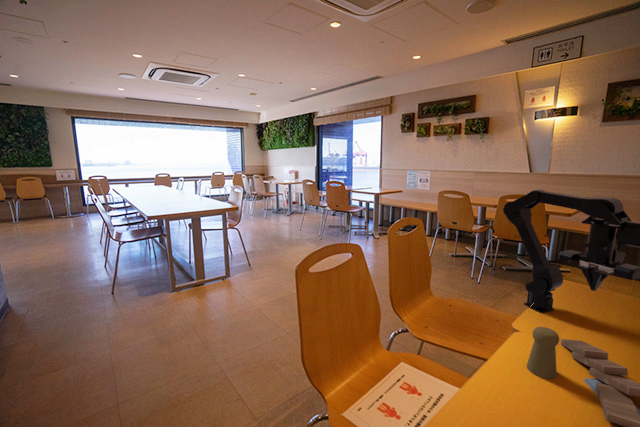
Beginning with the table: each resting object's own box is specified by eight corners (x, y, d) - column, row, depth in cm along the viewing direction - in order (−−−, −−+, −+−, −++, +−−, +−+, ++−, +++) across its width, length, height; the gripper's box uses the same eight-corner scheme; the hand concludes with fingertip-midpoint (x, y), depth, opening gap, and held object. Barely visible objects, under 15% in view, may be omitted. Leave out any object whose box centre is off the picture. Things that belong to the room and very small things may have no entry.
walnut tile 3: (589, 367, 72) (629, 387, 63) (612, 371, 72) (655, 391, 62) (589, 374, 72) (628, 395, 62) (611, 378, 72) (654, 399, 62)
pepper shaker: (551, 365, 77) (556, 325, 75) (560, 381, 71) (567, 339, 69) (523, 360, 79) (527, 321, 77) (530, 376, 73) (536, 334, 71)
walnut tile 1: (560, 338, 85) (584, 350, 75) (581, 340, 84) (607, 352, 74) (561, 344, 85) (584, 357, 75) (581, 346, 84) (608, 359, 74)
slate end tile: (584, 378, 71) (618, 412, 61) (609, 380, 70) (646, 416, 60) (583, 384, 71) (616, 419, 62) (607, 386, 70) (645, 422, 61)
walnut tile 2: (572, 351, 79) (603, 366, 69) (592, 353, 79) (627, 368, 69) (572, 357, 79) (603, 373, 69) (593, 359, 79) (627, 375, 69)
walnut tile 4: (596, 382, 68) (607, 413, 59) (627, 390, 65) (643, 424, 57) (595, 388, 68) (606, 420, 60) (626, 397, 65) (642, 432, 57)
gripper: (661, 246, 83) (650, 299, 85) (583, 231, 100) (577, 275, 103) (635, 250, 79) (626, 305, 82) (560, 234, 97) (554, 280, 99)
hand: (593, 290), depth 92 cm, fingers closed
